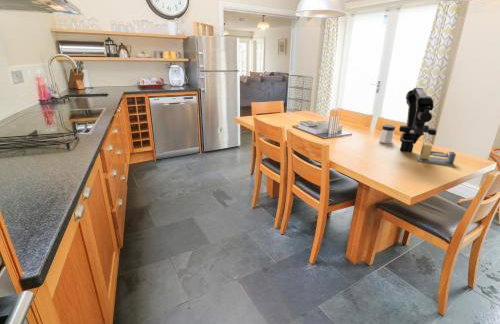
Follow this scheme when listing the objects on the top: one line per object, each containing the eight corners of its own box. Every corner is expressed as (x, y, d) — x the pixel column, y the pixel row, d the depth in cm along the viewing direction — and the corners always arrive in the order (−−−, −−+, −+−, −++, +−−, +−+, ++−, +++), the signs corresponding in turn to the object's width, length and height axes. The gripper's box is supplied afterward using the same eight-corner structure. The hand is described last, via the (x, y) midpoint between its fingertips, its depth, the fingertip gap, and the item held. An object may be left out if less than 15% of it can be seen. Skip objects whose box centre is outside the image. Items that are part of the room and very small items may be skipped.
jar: (394, 142, 200) (398, 126, 196) (387, 144, 197) (390, 127, 192) (384, 139, 207) (387, 124, 203) (376, 140, 204) (379, 125, 200)
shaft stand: (417, 161, 165) (420, 151, 162) (416, 156, 173) (418, 146, 171) (453, 166, 158) (456, 155, 155) (450, 160, 166) (453, 150, 164)
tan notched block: (421, 158, 165) (424, 145, 162) (419, 155, 170) (423, 142, 167) (428, 159, 164) (432, 146, 161) (427, 156, 169) (430, 143, 166)
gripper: (403, 119, 158) (397, 145, 164) (441, 123, 151) (433, 149, 157) (402, 116, 168) (396, 140, 173) (437, 119, 160) (431, 144, 166)
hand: (413, 143), depth 167 cm, fingers closed
